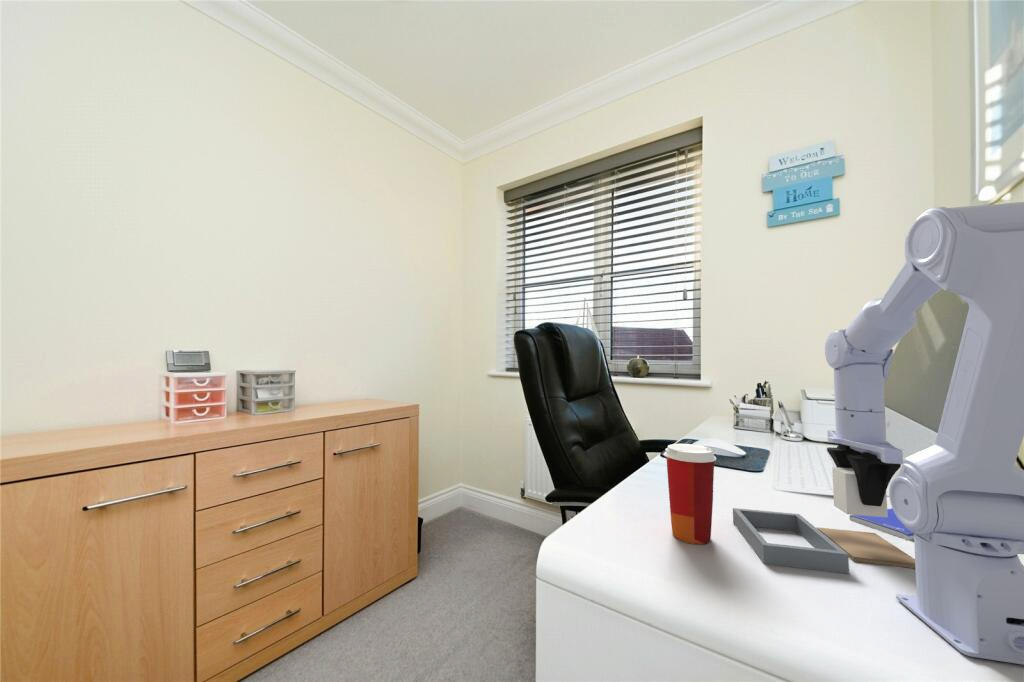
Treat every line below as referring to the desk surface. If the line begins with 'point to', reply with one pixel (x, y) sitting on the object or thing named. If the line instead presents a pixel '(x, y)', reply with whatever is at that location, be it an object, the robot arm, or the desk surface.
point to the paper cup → (690, 491)
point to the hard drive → (885, 524)
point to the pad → (868, 548)
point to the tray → (815, 558)
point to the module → (853, 495)
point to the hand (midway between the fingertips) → (862, 500)
